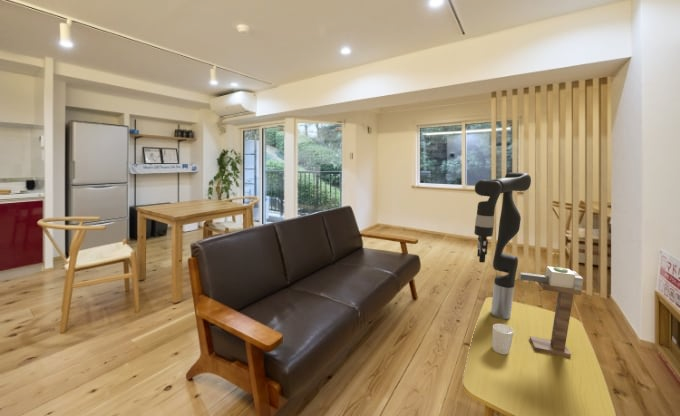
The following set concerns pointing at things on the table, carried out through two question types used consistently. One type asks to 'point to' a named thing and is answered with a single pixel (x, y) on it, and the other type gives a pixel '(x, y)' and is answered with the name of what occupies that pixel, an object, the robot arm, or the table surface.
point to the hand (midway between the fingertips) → (480, 259)
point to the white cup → (502, 338)
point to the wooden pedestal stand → (559, 319)
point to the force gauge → (552, 277)
